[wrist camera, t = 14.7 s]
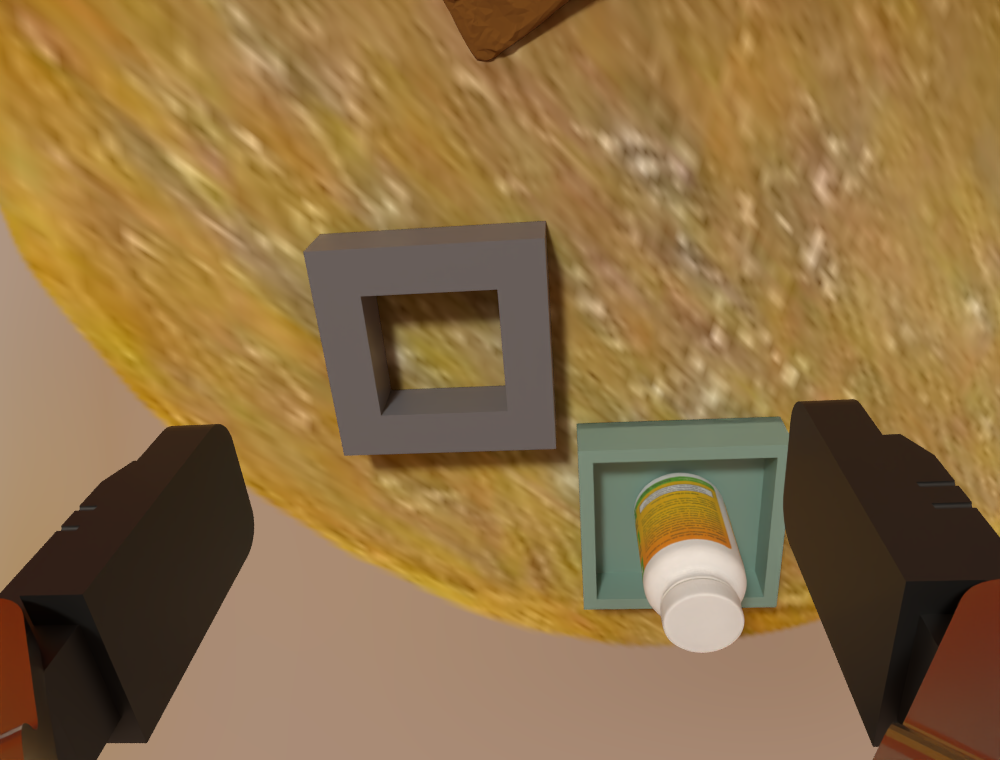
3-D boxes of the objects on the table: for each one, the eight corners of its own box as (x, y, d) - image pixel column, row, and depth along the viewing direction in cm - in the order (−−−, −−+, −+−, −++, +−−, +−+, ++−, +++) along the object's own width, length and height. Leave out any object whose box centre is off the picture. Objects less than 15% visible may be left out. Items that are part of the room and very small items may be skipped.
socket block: (545, 220, 40) (544, 238, 37) (556, 421, 45) (556, 448, 43) (319, 234, 41) (303, 251, 38) (356, 428, 46) (344, 455, 44)
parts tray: (780, 416, 44) (794, 444, 42) (764, 573, 50) (776, 607, 47) (576, 423, 45) (577, 451, 43) (582, 576, 51) (584, 609, 48)
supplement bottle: (615, 498, 47) (627, 614, 38) (692, 454, 45) (722, 565, 36) (664, 555, 49) (685, 678, 40) (740, 515, 47) (780, 636, 38)
